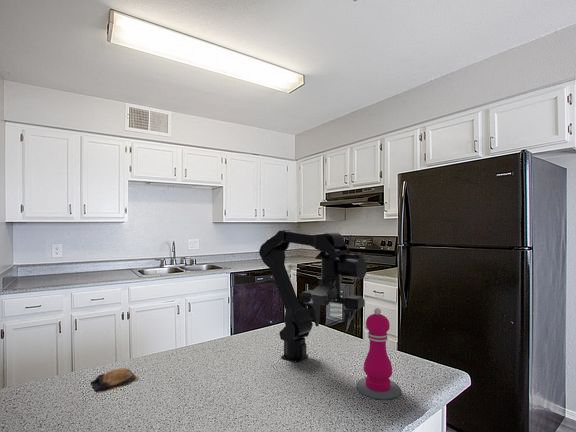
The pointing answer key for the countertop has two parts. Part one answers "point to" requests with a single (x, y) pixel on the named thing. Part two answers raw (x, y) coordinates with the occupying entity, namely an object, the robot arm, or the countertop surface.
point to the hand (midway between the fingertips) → (331, 328)
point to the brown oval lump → (113, 379)
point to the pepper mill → (378, 353)
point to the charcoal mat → (387, 395)
